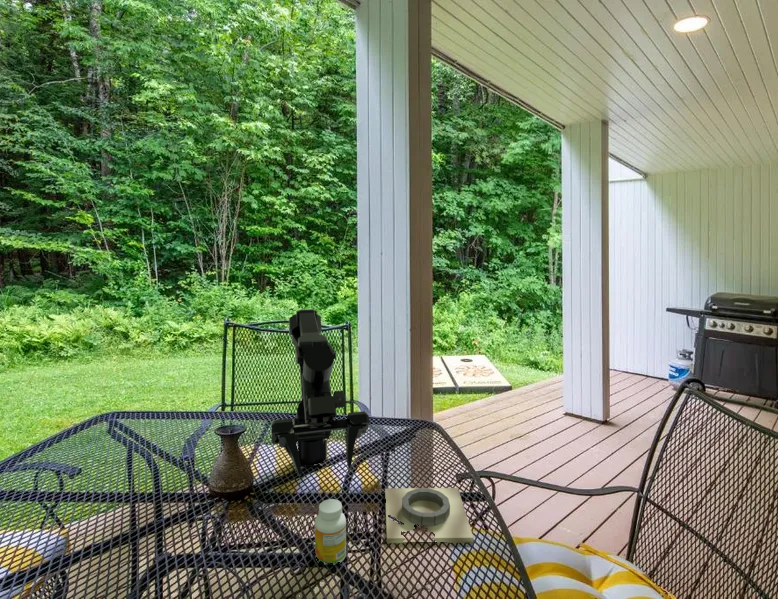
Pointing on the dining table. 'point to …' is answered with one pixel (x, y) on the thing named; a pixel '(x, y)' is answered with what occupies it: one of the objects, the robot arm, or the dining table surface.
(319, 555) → the supplement bottle
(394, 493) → the ring holder
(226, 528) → the dining table surface
